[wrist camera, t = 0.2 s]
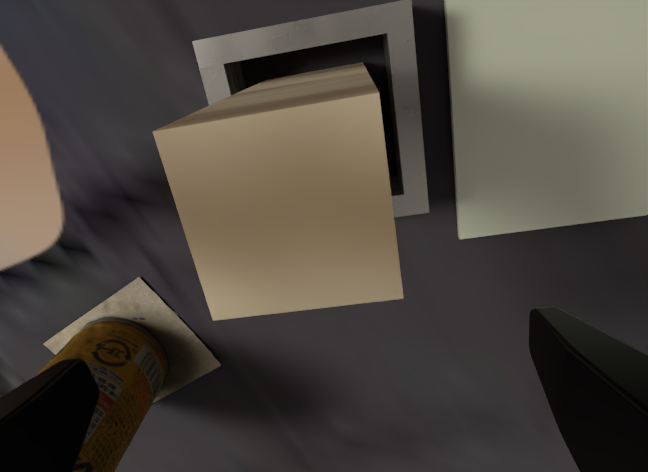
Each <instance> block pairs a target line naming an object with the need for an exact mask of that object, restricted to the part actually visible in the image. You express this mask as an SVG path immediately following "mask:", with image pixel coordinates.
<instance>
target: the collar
mask: <svg viewBox="0 0 648 472" xmlns="http://www.w3.org/2000/svg"><path fill="white" fill-rule="evenodd" d="M380 34H382V38H383V47H384V56H385V65H386V74H387V83H388V92H389V101H390V110H391V119H392V128H393V137H394V147H395V156H396V165H397V174H398V175H397V176H391V177H389V180H390V188H391V196H392V205H393V213H394V217H401V216H408V215H415V214H422V213H429V203H428V191H427V180H426V168H425V156H424V144H423V132H422V120H421V108H420V97H419V85H418V73H417V61H416V49H415V37H414V25H413V13H412V2H411V0H402V1H397V2H392V3H386V4H381V5H376V6H371V7H366V8H361V9H356V10H351V11H346V12H340V13H335V14H330V15H325V16H320V17H315V18H310V19H305V20H299V21H294V22H289V23H284V24H279V25H274V26H269V27H264V28H258V29H253V30H248V31H243V32H238V33H233V34H228V35H223V36H217V37H212V38H207V39H202V40H197V41H192V42H193V46H194V50H195V54H196V58H197V61H198V65H199V69H200V73H201V77H202V80H203V84H204V88H205V92H206V95H207V99H208V103H209V106H210V105H212V104H214V103H216V102H218V101H221V100H223V99H225V98H227V97H229V96H232V95H234V94H236V93H238V92H240V91H243V90H245V89H247V87H246V83H245V79H244V74H243V70H242V65H241V61H242V60H247V59H252V58H258V57H263V56H268V55H274V54H279V53H284V52H290V51H295V50H300V49H306V48H311V47H316V46H322V45H327V44H332V43H338V42H343V41H348V40H354V39H359V38H364V37H370V36H375V35H380Z"/></svg>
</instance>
